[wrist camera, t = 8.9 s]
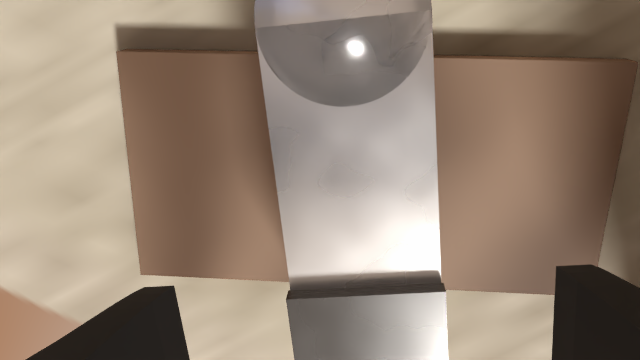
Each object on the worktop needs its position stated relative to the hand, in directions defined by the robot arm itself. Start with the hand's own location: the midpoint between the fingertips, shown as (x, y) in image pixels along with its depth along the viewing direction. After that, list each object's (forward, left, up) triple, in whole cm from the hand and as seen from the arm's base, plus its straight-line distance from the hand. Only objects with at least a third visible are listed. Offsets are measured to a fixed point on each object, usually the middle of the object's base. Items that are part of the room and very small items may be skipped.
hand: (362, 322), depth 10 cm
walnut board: (0, 0, -9) cm, 9 cm away
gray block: (0, 0, -8) cm, 8 cm away
